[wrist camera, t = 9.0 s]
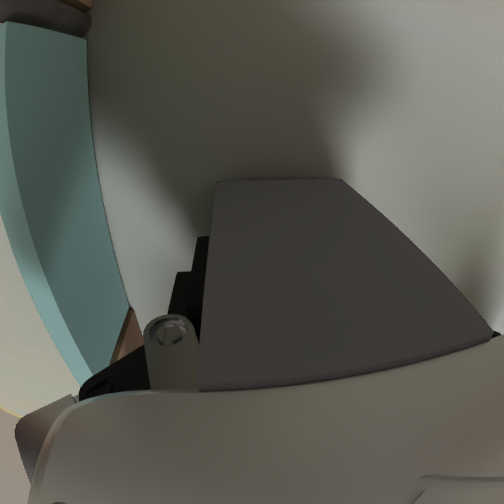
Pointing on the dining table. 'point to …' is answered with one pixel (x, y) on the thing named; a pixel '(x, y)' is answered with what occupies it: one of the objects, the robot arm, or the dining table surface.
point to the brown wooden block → (77, 24)
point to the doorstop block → (318, 290)
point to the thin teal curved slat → (57, 195)
